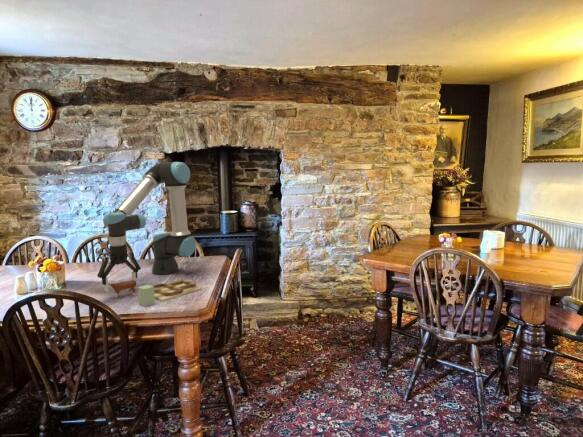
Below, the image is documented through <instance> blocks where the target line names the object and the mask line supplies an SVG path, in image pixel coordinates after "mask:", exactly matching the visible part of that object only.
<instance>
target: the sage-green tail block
mask: <svg viewBox="0 0 583 437" xmlns="http://www.w3.org/2000/svg"><path fill="white" fill-rule="evenodd" d="M137 292H138V295H137V296H138V304H139V305H141V306H143V307H148V306H152V305H154V304H156V302H155V300H156V299H155V297H154V287H153V286H152V285H150V284H145V285H141V286H138V287H137Z"/></svg>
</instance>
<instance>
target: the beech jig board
mask: <svg viewBox="0 0 583 437" xmlns="http://www.w3.org/2000/svg"><path fill="white" fill-rule="evenodd" d="M151 286H153V287H154V297H155V300H158V301H160V302H166V301H170V300H172V299H175V298H178V297H182V296H186V295H188V294H192V293H195V292H199V291H202V289H203V288H202V287H200V286H197V282H193V281H190V280H187V279H181V280H177V281H174V282H170V283H166V282H163V283H161V282H159V283H156V284H152V285H151Z"/></svg>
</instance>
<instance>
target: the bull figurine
mask: <svg viewBox="0 0 583 437" xmlns="http://www.w3.org/2000/svg"><path fill="white" fill-rule="evenodd" d="M136 286H137V280H136V281H134V280H132V279H131V280H127V281H113V280H110V281H108V287H109V289H111V290H112V291H113V292H114V293H115V297H114V299H117V298H119V297H120V296H121V293H120V292H123V291H124V292H125V293H126V292H127V291H129V292H128V293H127V296H129V295H130V294H131V293H132V294H131V296H135V294H136V289H135V288H136Z"/></svg>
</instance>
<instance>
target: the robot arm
mask: <svg viewBox="0 0 583 437" xmlns="http://www.w3.org/2000/svg"><path fill="white" fill-rule="evenodd" d="M190 178H191V171H190V168H189V167H188V165H187V164H186V163H185V162H181V161H168V162H165V161H163V162H158V163H156V164H155V165H153V166H151V167H150V168H149V169H148V170H147V171H146V172H144V174H143V175H142V176H141V180H140V182H139V183H138V184H136V186H134V188H133V190H131V192H130V193H129V194H128V195H127V196H126V197H125V198H124V199H123V201H121V203H120V204H119V205H118V206H117V207H116V208H115V210H114V211H113V212H109V213H107V214H105V215H104V216H103V220H102V222H103V225H104V226H105V227H106V228H107V231H108V245H109V256H103V257H102V258H103V259H102V264H101V266H100V268H99V271H98V273H97V278H100V279H101V283H102V286H104V287H103V288H104V291H105V292H107V293H109V291H110V288H109V287H108V283H109V278H108V276H109V274H110V273H111V271H112V269H113V268H114V267H115V266H116V265H121V264H123V265H124V264H126V266H127V267H128V268H129V269H130V270H132V271H131V281H132V280H134V281H136V282H137V279H138V272H139V271H140V270H141V269H142V268H141V266H140V264H139V263H138V261H137V259H136V258H135V254H134V252H130V251H129V252H128V247H127V231H128V232H129V231H135V230H140V229H143V228H145V226H146V224H147V221H146V220H147V219H146V216H144V215H143V214H142V213H135V214H133V213H134V212H135V211H136V209H137V208H138V207H139V206H140V205H141V204H142V203H143V202H144V200H145V199H146V198H147V196H148V195H149V194H150V193H151V192H152V190H153V189H157V188H158V186H159V185H162V184H164V186H165V188H166V189H167V190H168V198H169V207H170V209H169V210H170V218H171V220H170V221H171V229H172V230H171V232H170V231H169V232H164V233H158V234H154V235H153V237H152V247H153V258H154V259H153V263H152V267H151V273H152V274H154V275H156V276H157V275H161V276H162V275H170V274H174V273H177V272H179V269H180V268H179V265H178V262H177V260H176V257H181V258H183V257H185V258H186V257H188V258H189V257H190V256H192V255H193V254H194V252H195V250H196V247H197V240H196V239H195V238H194V237H193V236H192V233H191V231H190V230H189V226H188V215H187V204H186V193H185V189H186V188H187V186H188V185H187V184H188V182H189V181H190ZM128 258H129V259H130V261H131V262H132V263H130V261H129V260H128ZM109 261H110V262H109ZM108 262H109V264H108Z"/></svg>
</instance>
